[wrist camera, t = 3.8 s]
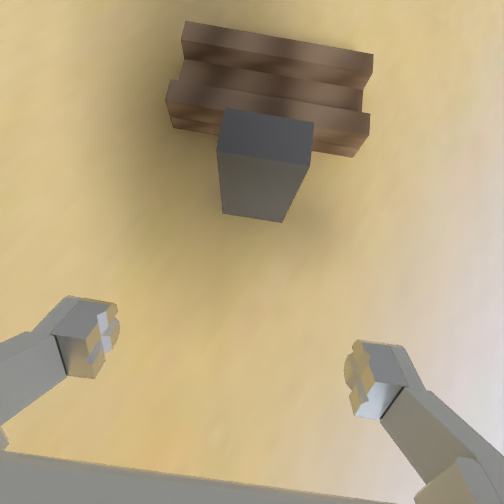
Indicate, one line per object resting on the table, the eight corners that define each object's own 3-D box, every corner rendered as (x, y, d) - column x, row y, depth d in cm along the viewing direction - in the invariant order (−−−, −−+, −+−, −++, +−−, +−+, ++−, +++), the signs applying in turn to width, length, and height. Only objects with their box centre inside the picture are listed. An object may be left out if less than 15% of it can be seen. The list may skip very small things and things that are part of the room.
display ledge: (173, 127, 28) (165, 100, 24) (191, 54, 30) (185, 20, 27) (352, 157, 28) (369, 135, 25) (357, 83, 30) (373, 53, 27)
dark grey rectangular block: (281, 222, 26) (309, 166, 17) (222, 213, 26) (216, 150, 16) (285, 192, 27) (314, 121, 17) (228, 183, 27) (225, 106, 17)
